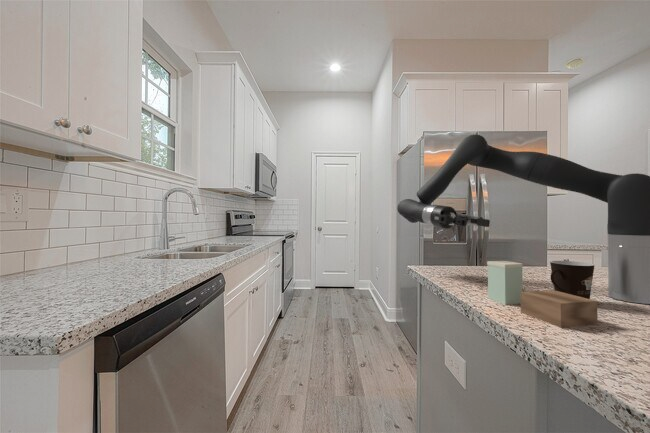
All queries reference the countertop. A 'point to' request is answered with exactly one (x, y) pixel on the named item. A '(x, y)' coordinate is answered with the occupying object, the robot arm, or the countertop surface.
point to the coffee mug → (572, 277)
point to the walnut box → (559, 308)
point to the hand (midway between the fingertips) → (477, 223)
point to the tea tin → (505, 282)
